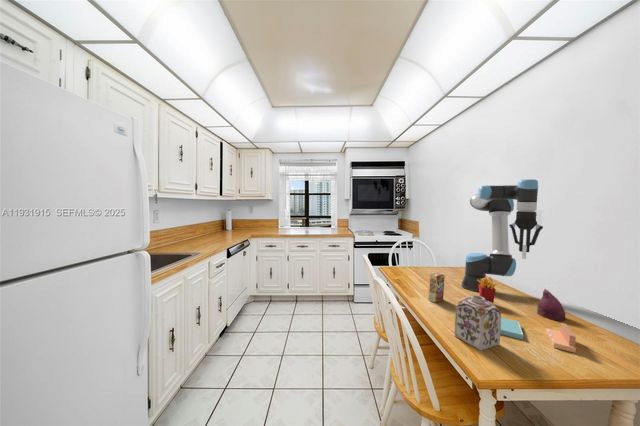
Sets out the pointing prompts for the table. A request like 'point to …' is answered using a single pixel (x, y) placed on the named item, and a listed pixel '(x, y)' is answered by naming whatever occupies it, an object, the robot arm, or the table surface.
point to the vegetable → (550, 307)
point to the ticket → (511, 328)
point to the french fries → (487, 289)
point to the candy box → (436, 287)
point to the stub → (562, 338)
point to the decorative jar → (478, 322)
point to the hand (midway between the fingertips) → (523, 258)
